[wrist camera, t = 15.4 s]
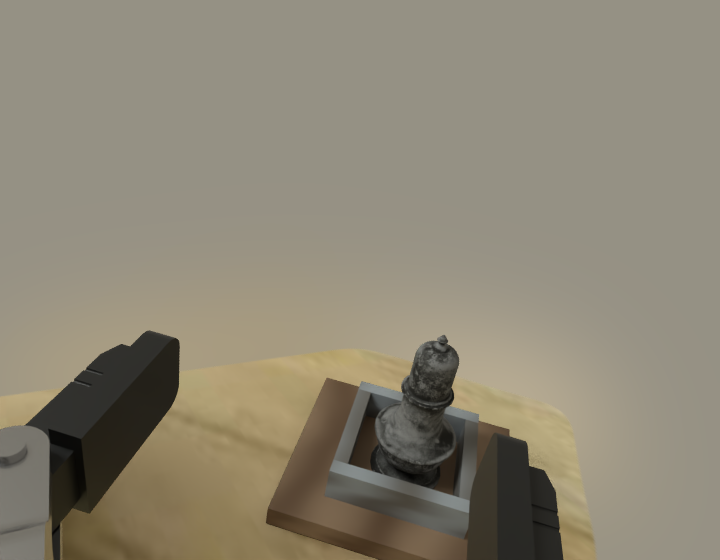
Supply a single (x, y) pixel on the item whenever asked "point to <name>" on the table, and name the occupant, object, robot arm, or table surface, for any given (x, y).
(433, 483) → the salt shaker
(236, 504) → the table surface
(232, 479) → the table surface
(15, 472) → the robot arm
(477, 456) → the socket stand
